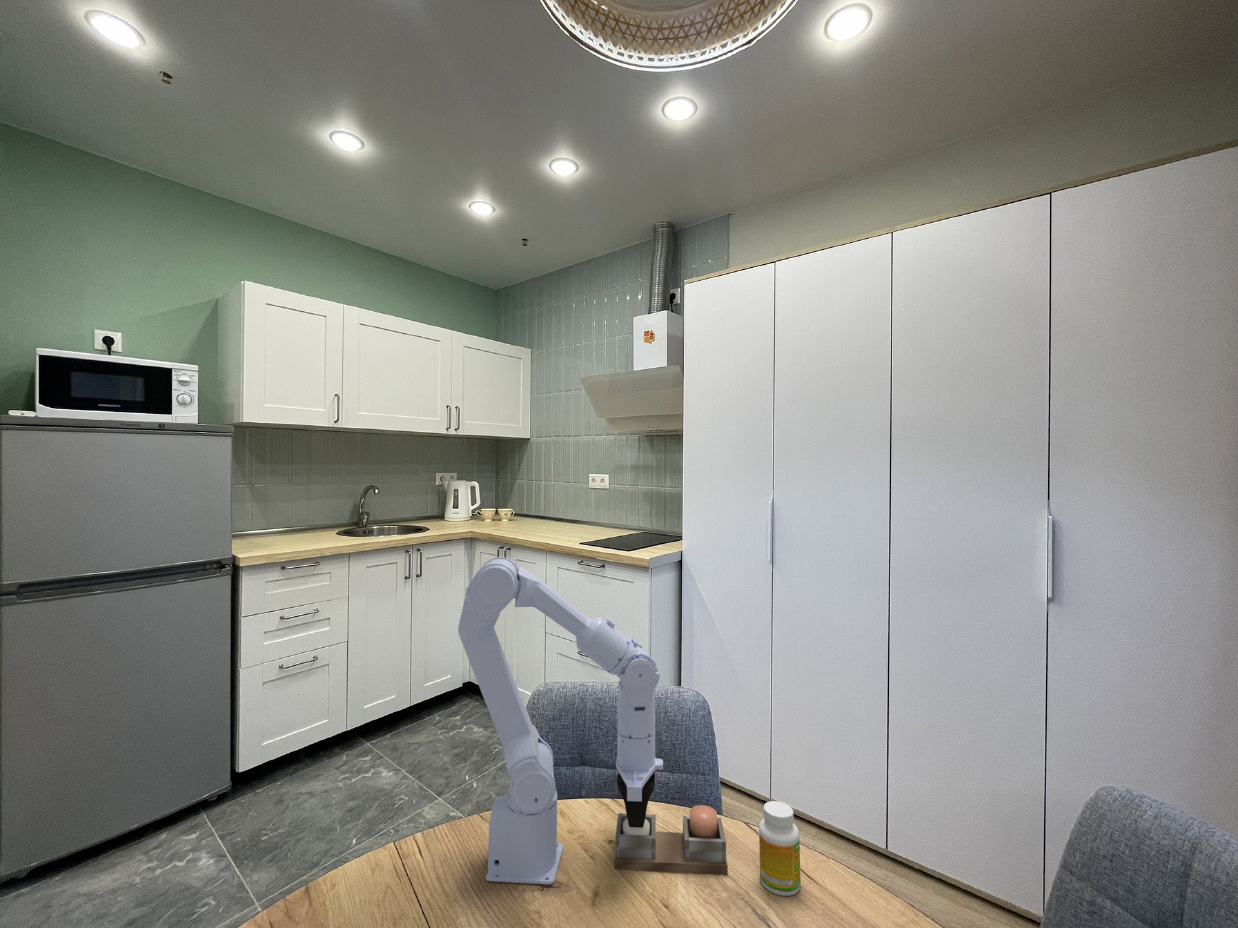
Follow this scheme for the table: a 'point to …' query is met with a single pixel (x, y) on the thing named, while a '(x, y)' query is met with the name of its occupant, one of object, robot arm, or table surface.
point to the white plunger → (636, 829)
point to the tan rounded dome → (703, 821)
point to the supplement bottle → (779, 850)
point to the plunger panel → (670, 850)
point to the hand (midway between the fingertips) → (636, 825)
